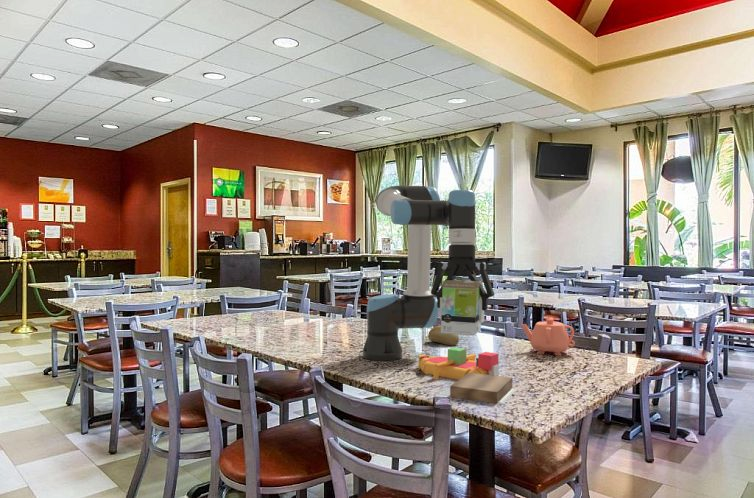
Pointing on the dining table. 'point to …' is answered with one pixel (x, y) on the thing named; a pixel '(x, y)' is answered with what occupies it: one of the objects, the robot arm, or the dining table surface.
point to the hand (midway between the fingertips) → (461, 320)
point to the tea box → (460, 307)
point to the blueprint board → (502, 401)
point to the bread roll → (442, 336)
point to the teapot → (549, 337)
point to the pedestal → (481, 387)
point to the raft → (459, 364)
